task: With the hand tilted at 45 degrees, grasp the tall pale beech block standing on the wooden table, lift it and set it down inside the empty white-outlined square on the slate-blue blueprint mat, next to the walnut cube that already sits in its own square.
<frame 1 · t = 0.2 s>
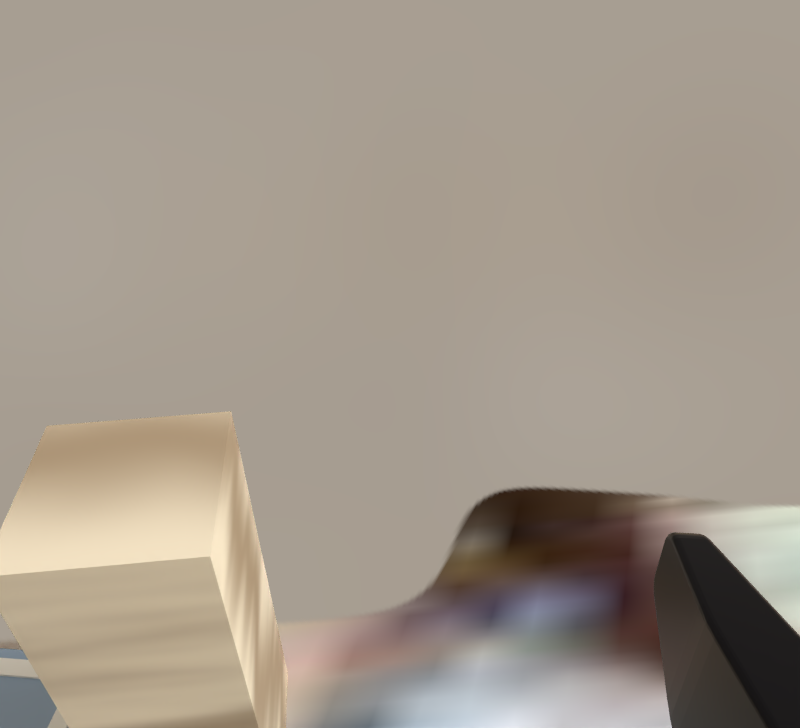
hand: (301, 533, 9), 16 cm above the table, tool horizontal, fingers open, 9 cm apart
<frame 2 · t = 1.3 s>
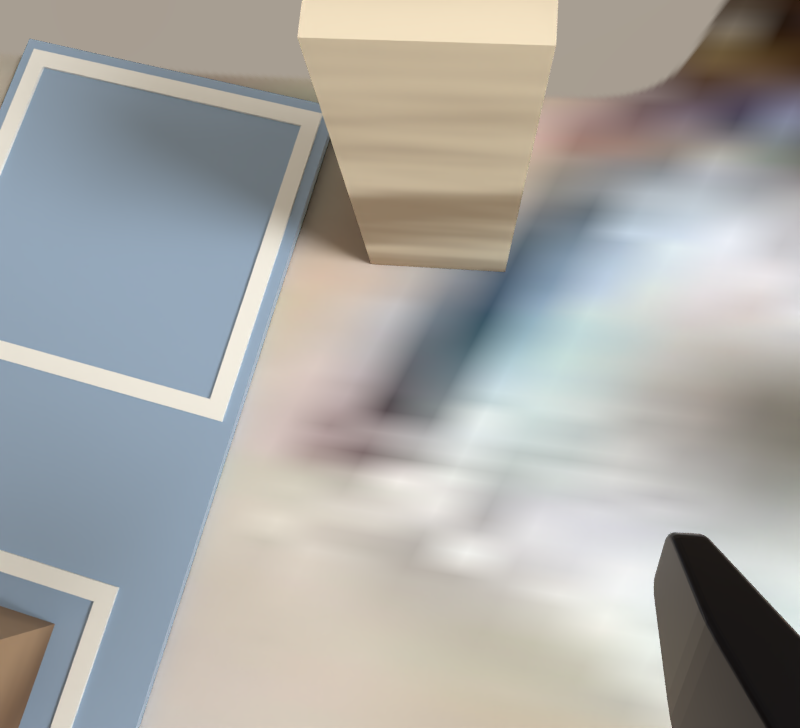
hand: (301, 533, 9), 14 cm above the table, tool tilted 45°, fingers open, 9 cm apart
beech block: (442, 205, 25), on the table
blueprint mat: (61, 404, 24), on the table
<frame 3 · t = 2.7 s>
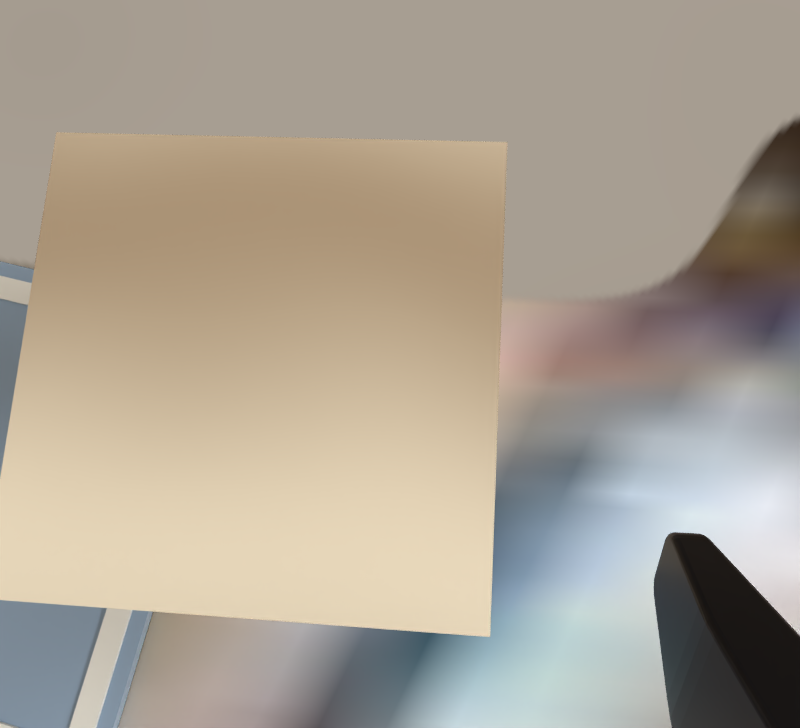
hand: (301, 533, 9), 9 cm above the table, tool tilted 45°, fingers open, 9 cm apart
beech block: (379, 453, 18), on the table
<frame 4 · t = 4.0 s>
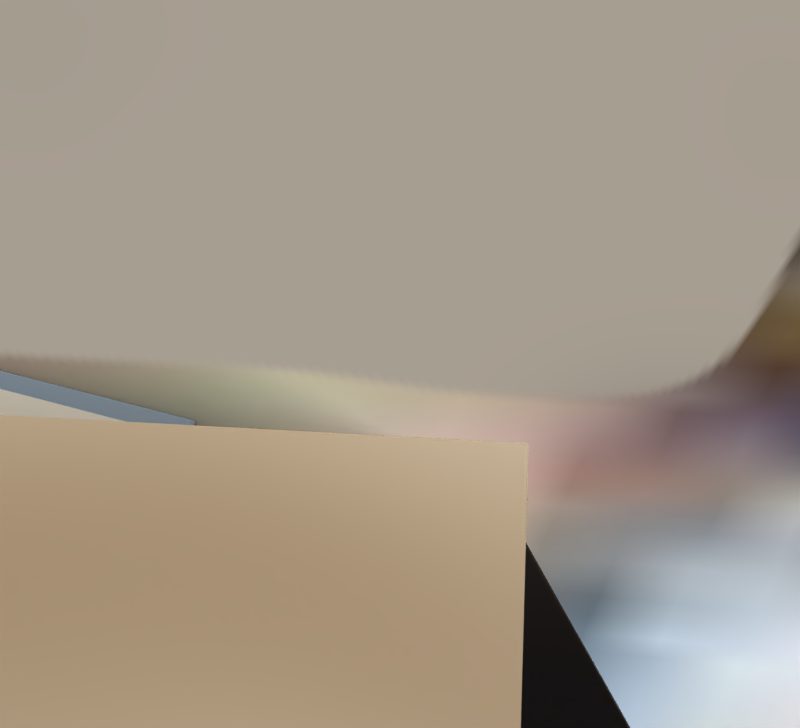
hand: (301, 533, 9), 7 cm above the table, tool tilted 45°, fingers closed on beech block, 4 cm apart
beech block: (359, 585, 15), on the table, touching gripper
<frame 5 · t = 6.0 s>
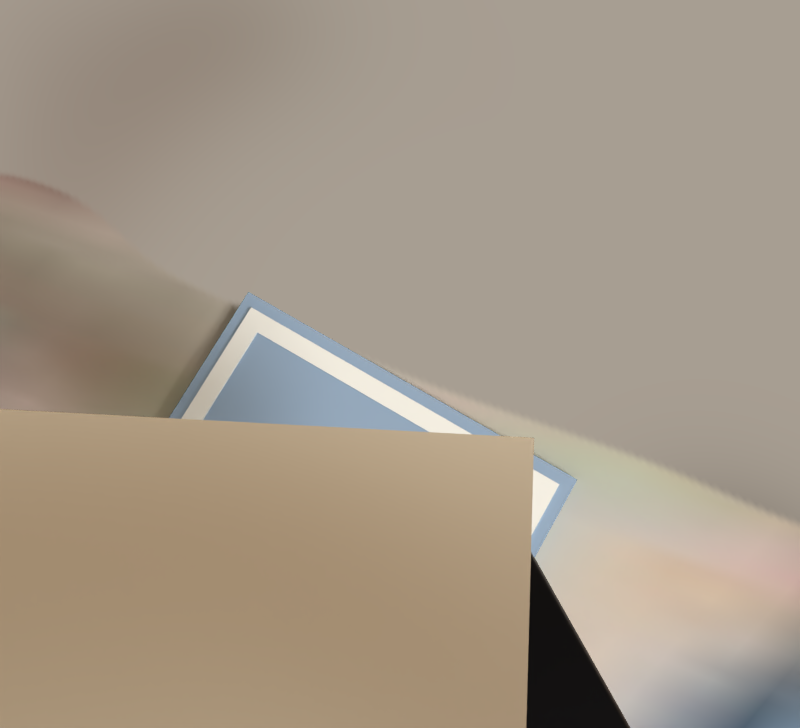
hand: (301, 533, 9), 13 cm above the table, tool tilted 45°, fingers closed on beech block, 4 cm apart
beech block: (360, 584, 15), point 7 cm above the table, touching gripper
when the fingers open (8 cm above the table, at t = 7.9 s): beech block drops 1 cm, resting on blueprint mat.
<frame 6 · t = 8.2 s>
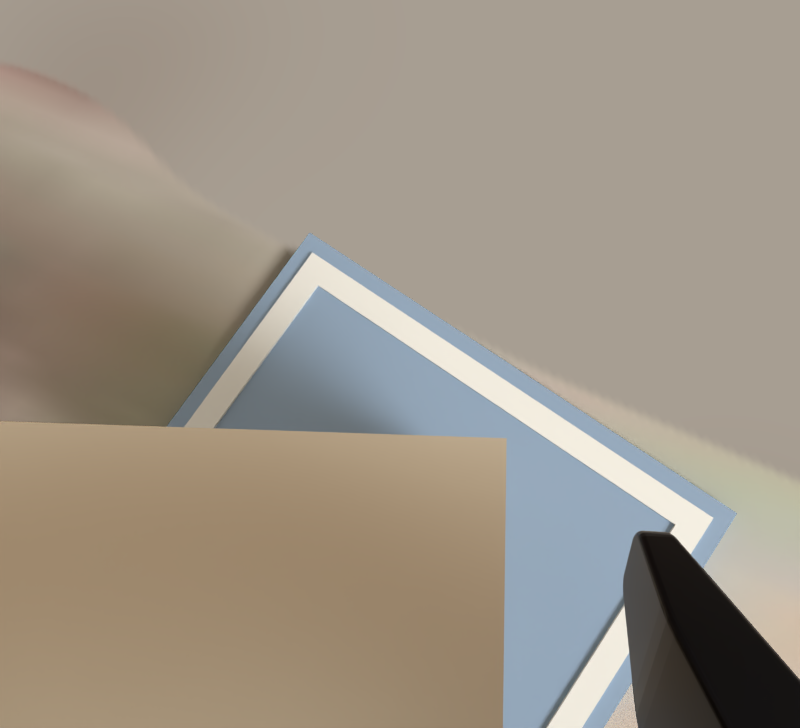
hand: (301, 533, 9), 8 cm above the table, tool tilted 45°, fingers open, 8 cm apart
beech block: (365, 578, 16), resting on blueprint mat
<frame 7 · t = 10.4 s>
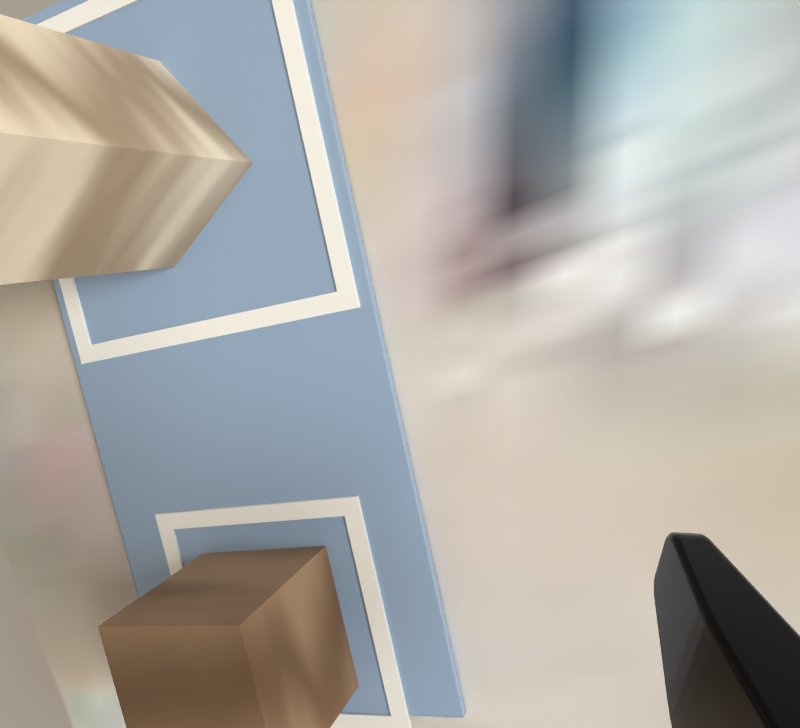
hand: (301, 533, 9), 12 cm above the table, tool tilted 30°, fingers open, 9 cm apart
beech block: (167, 166, 23), resting on blueprint mat
walnut cube: (278, 617, 25), resting on blueprint mat
blueprint mat: (221, 362, 24), on the table
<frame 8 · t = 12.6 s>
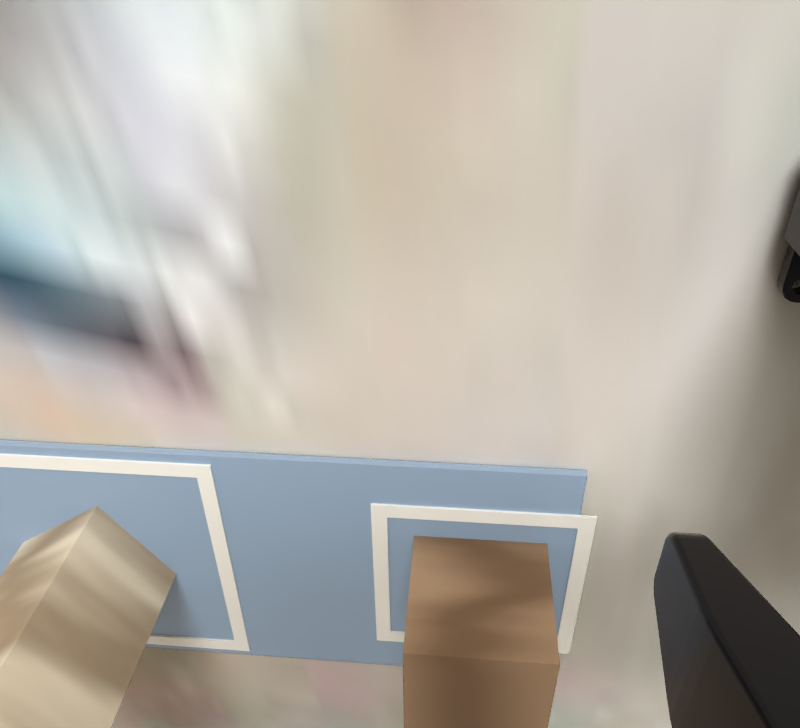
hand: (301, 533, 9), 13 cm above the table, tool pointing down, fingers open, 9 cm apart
beech block: (99, 558, 30), resting on blueprint mat
walnut cube: (476, 582, 29), resting on blueprint mat
blueprint mat: (256, 562, 30), on the table
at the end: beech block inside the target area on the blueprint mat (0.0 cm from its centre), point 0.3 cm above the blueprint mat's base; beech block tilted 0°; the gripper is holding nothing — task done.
